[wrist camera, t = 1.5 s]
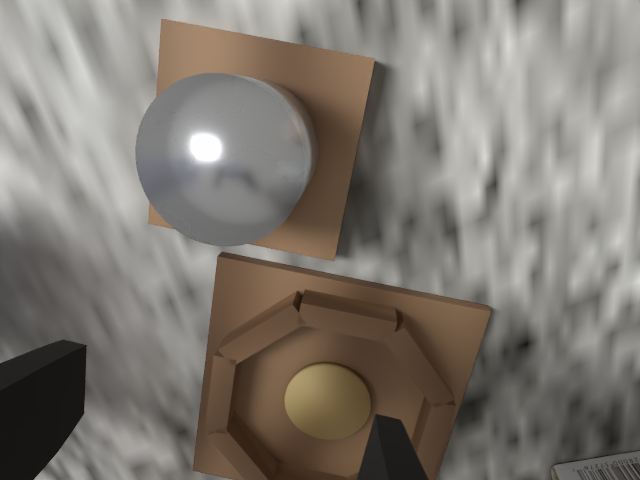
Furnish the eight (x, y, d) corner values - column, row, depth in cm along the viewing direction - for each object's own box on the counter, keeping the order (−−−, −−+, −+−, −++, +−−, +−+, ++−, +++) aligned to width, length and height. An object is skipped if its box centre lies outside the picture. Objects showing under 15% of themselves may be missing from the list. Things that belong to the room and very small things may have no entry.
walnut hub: (196, 461, 25) (182, 492, 23) (221, 251, 21) (207, 267, 19) (420, 510, 24) (425, 546, 22) (487, 305, 20) (500, 327, 19)
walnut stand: (158, 217, 21) (148, 223, 20) (172, 22, 18) (161, 18, 17) (335, 253, 20) (333, 261, 19) (374, 60, 18) (375, 58, 17)
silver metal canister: (183, 198, 19) (131, 228, 15) (195, 65, 18) (140, 57, 13) (307, 222, 19) (290, 260, 15) (330, 91, 17) (318, 90, 13)
